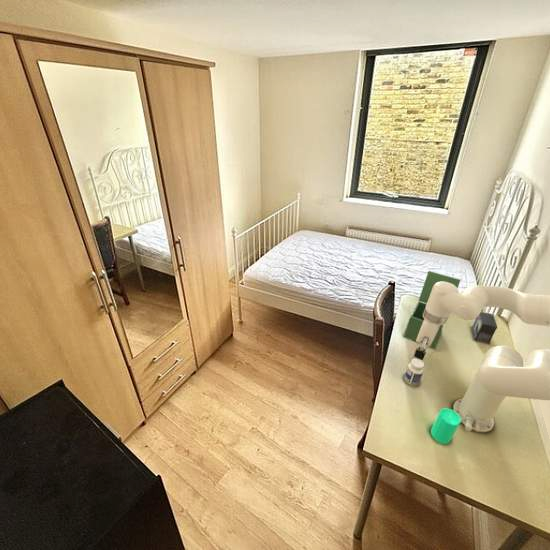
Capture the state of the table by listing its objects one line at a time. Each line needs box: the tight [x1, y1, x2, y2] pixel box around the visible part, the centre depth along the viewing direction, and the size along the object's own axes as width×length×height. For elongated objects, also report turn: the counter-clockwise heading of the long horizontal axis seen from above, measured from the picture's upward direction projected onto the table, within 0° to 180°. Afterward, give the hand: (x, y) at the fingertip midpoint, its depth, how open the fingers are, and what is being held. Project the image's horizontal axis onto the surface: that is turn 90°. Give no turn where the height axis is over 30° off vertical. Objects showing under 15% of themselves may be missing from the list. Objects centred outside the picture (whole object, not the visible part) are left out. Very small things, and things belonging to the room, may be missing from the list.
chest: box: [403, 300, 444, 350], centre depth 140 cm, size 16×14×12 cm
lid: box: [418, 270, 462, 304], centre depth 139 cm, size 16×14×1 cm
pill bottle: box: [403, 358, 425, 387], centre depth 116 cm, size 6×6×10 cm
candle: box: [430, 407, 462, 445], centre depth 96 cm, size 6×6×12 cm
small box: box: [471, 311, 498, 345], centre depth 140 cm, size 11×6×10 cm, turn 157°
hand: (421, 350), depth 111 cm, fingers open, 9 cm apart
